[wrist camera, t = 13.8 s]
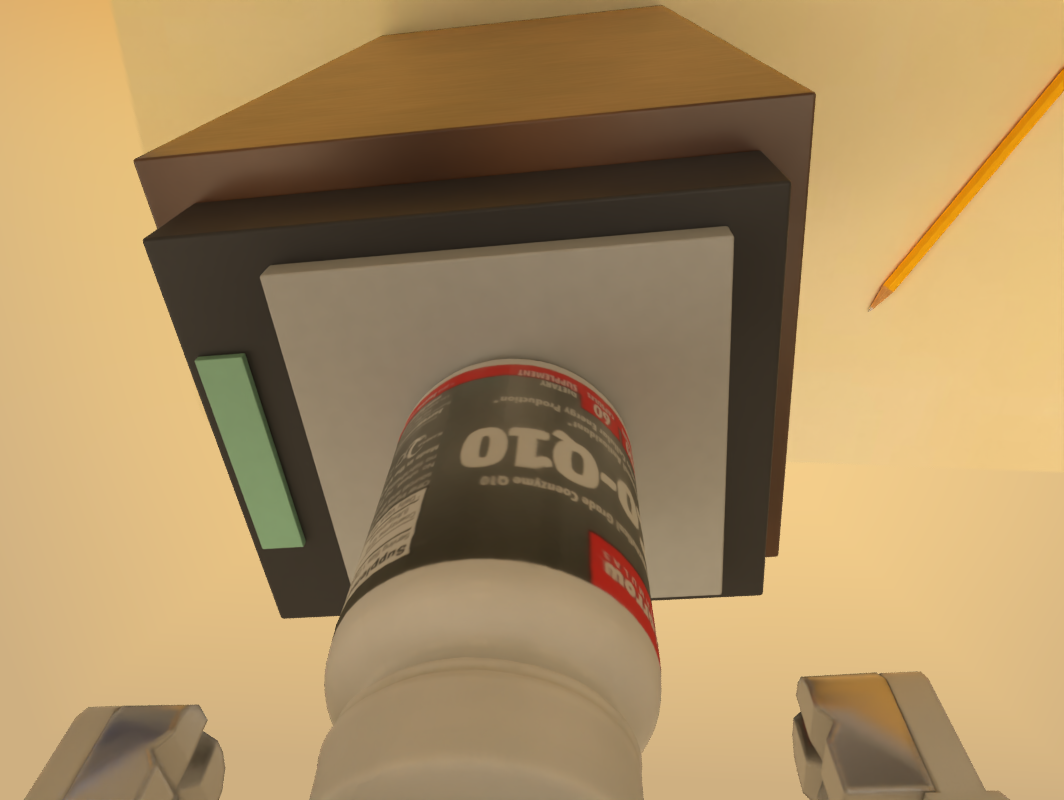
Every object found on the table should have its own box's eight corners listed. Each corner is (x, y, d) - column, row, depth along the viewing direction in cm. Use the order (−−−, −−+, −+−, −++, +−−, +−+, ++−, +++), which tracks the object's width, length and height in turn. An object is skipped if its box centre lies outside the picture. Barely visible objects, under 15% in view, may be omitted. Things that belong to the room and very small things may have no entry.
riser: (422, 262, 44) (282, 583, 22) (381, 35, 38) (131, 159, 16) (666, 242, 43) (778, 557, 21) (663, 5, 37) (817, 91, 15)
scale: (307, 555, 22) (273, 638, 19) (192, 202, 16) (124, 250, 14) (742, 531, 21) (769, 615, 18) (762, 149, 16) (802, 189, 13)
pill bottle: (677, 423, 15) (781, 843, 8) (551, 571, 18) (546, 1008, 10) (471, 307, 14) (380, 676, 7) (363, 480, 16) (208, 901, 9)
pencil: (1145, -12, 36) (1154, -12, 36) (871, 312, 45) (875, 317, 45) (1133, -21, 36) (1142, -21, 36) (860, 306, 45) (864, 311, 45)
